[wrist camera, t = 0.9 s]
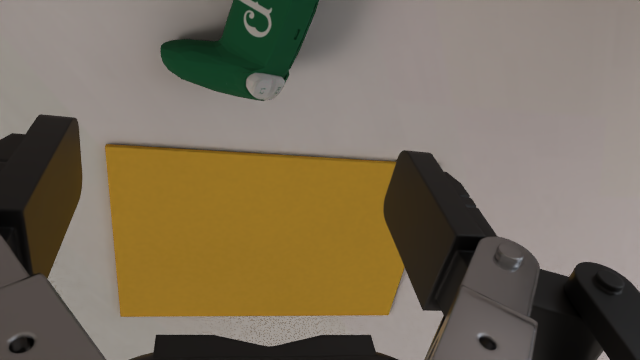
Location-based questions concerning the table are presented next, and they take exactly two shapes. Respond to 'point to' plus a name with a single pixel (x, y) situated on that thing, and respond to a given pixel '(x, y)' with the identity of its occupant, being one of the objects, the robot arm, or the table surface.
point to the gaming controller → (245, 49)
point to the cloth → (250, 233)
